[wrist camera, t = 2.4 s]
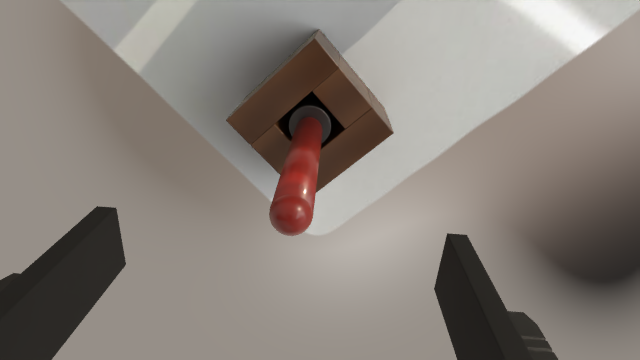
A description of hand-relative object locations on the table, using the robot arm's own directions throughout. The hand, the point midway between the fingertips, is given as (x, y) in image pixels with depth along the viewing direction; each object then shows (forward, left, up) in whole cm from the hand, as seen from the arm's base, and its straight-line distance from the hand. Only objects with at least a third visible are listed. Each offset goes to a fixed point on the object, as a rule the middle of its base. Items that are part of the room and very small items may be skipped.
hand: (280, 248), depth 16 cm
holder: (0, 0, -23) cm, 23 cm away
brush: (0, 0, -23) cm, 23 cm away
